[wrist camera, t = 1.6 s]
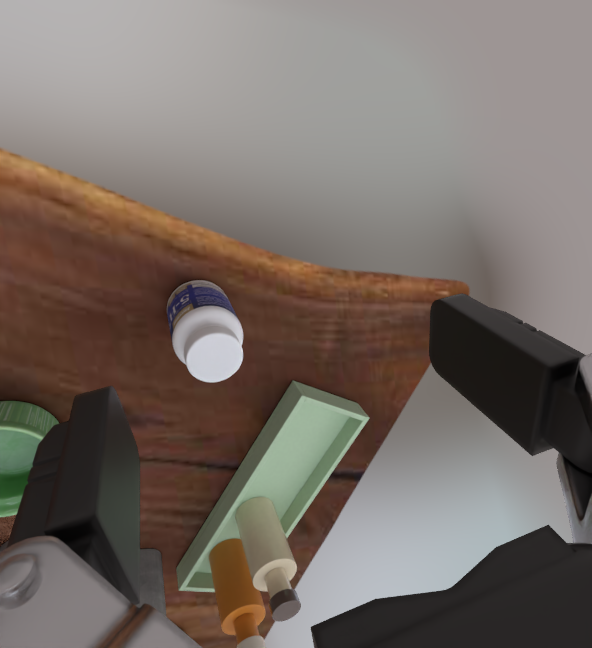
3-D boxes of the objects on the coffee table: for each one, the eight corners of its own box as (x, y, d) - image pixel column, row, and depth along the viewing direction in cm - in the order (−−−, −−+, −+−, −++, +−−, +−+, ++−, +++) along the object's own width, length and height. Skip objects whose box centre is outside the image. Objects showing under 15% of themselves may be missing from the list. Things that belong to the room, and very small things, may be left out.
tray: (175, 568, 50) (178, 590, 48) (292, 380, 44) (302, 395, 42) (243, 572, 55) (248, 594, 52) (357, 403, 49) (369, 418, 46)
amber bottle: (201, 564, 50) (220, 675, 40) (220, 536, 49) (243, 642, 39) (235, 567, 52) (261, 672, 43) (254, 540, 51) (284, 641, 42)
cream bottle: (227, 523, 49) (253, 628, 39) (247, 493, 48) (278, 592, 38) (261, 528, 51) (294, 628, 41) (280, 499, 50) (318, 594, 40)
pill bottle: (173, 273, 35) (186, 317, 28) (234, 284, 37) (261, 329, 30) (160, 330, 37) (169, 387, 29) (219, 338, 39) (241, 393, 32)
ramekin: (-15, 375, 34) (-32, 408, 30) (91, 420, 38) (88, 454, 35) (-79, 456, 35) (-103, 498, 31) (32, 491, 39) (23, 530, 36)
